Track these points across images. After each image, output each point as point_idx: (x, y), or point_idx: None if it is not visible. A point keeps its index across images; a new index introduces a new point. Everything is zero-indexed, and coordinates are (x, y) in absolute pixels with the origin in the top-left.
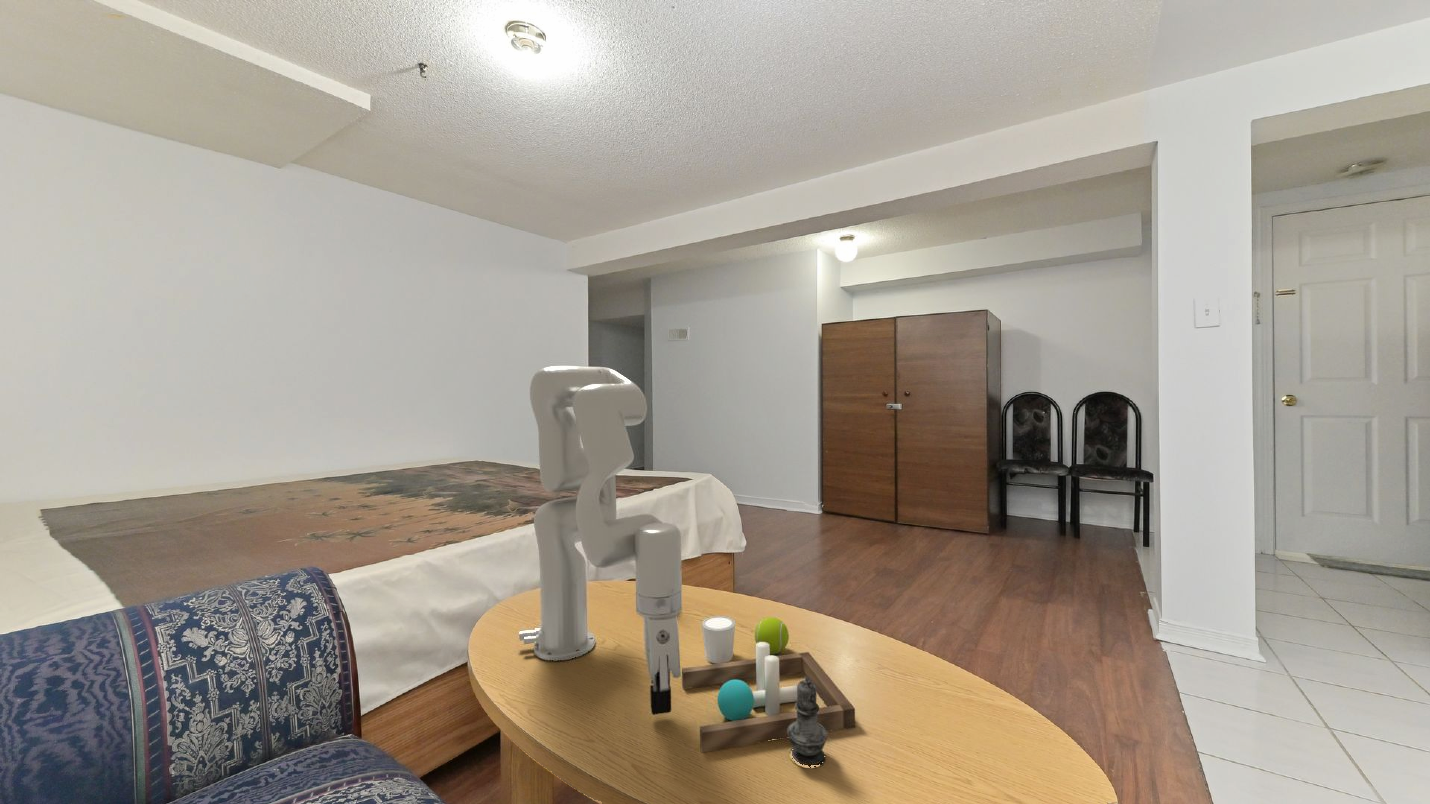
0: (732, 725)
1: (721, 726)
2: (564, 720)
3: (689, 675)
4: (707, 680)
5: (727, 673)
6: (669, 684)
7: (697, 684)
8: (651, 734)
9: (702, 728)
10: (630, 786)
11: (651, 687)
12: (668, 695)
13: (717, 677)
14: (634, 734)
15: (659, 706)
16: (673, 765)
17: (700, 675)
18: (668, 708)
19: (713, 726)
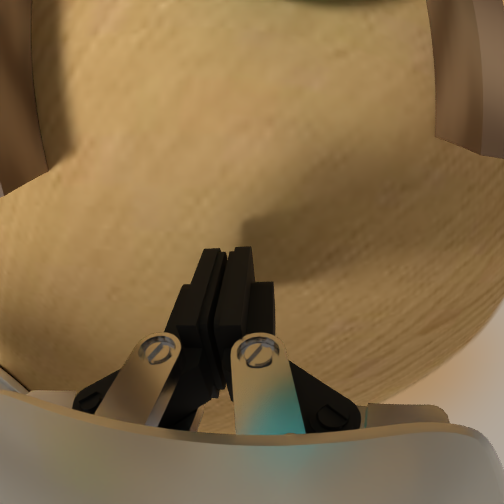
0: (496, 13)
1: (499, 59)
2: (215, 430)
3: (7, 161)
4: (18, 78)
5: (6, 4)
6: (290, 376)
7: (30, 117)
8: (319, 293)
9: (494, 147)
10: (474, 329)
11: (218, 394)
12: (245, 305)
13: (12, 40)
14: (303, 336)
15: (274, 318)
16: (474, 239)
17: (4, 111)
18: (251, 264)
19: (492, 92)
